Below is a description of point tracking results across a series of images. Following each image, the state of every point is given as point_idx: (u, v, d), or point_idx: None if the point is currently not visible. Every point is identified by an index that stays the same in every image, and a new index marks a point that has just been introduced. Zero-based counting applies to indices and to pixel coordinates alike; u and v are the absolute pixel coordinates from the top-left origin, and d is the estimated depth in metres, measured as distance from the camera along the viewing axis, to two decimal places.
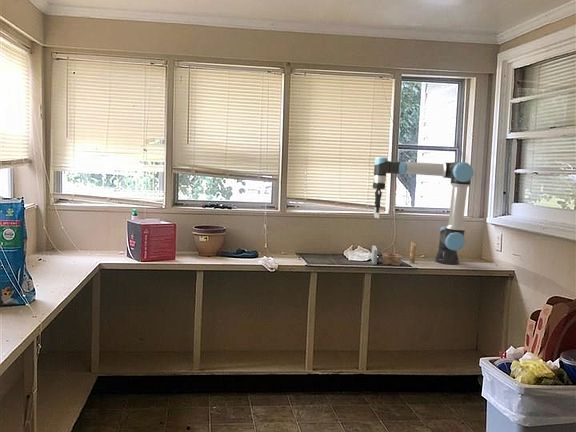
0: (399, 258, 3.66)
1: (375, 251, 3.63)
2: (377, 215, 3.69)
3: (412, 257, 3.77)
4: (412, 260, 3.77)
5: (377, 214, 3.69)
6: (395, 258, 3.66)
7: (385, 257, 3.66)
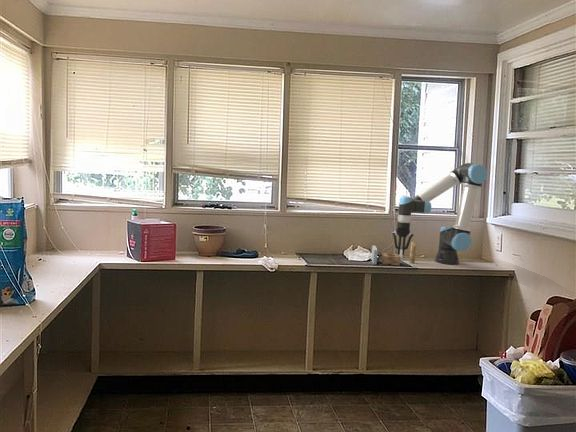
0: (399, 258, 3.66)
1: (375, 251, 3.63)
2: None
3: (412, 257, 3.77)
4: (412, 260, 3.77)
5: None
6: (395, 258, 3.66)
7: (385, 257, 3.66)
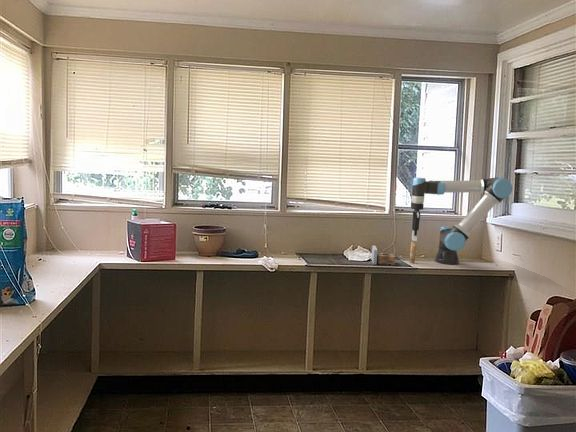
0: (394, 258, 3.66)
1: (375, 251, 3.63)
2: (415, 238, 3.75)
3: (412, 257, 3.77)
4: (412, 260, 3.77)
5: (415, 237, 3.75)
6: (390, 258, 3.66)
7: (380, 257, 3.66)
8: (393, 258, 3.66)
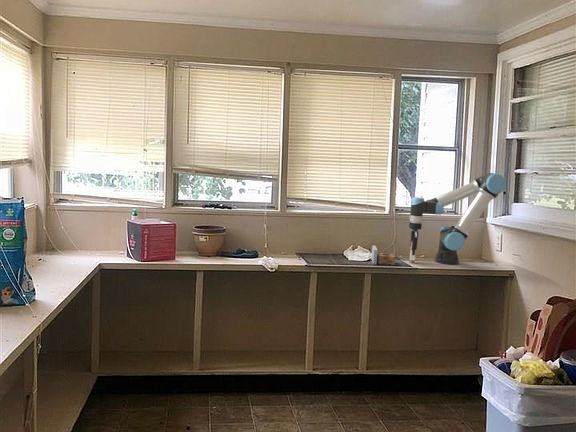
0: (394, 258, 3.66)
1: (375, 251, 3.63)
2: (413, 257, 3.76)
3: None
4: (412, 260, 3.77)
5: (413, 256, 3.76)
6: (390, 258, 3.66)
7: (380, 257, 3.66)
8: (393, 258, 3.66)
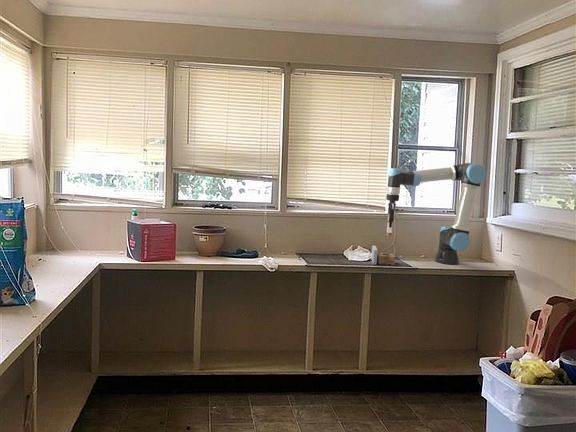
0: (394, 258, 3.66)
1: (375, 251, 3.63)
2: (390, 230, 3.67)
3: None
4: None
5: (390, 229, 3.67)
6: (390, 258, 3.66)
7: (380, 257, 3.66)
8: (393, 258, 3.66)
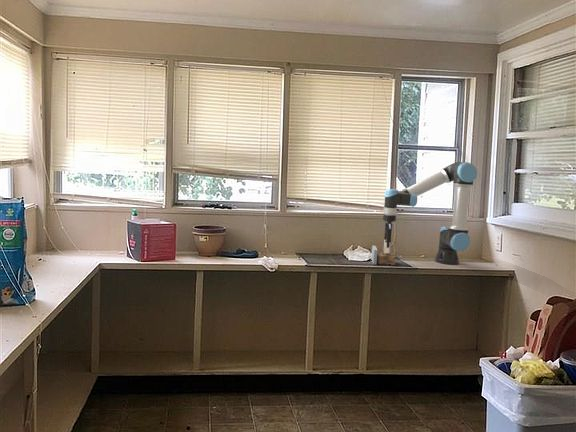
0: (394, 258, 3.66)
1: (375, 251, 3.63)
2: (387, 250, 3.66)
3: None
4: None
5: (387, 249, 3.66)
6: (390, 258, 3.66)
7: (380, 257, 3.66)
8: (393, 258, 3.66)
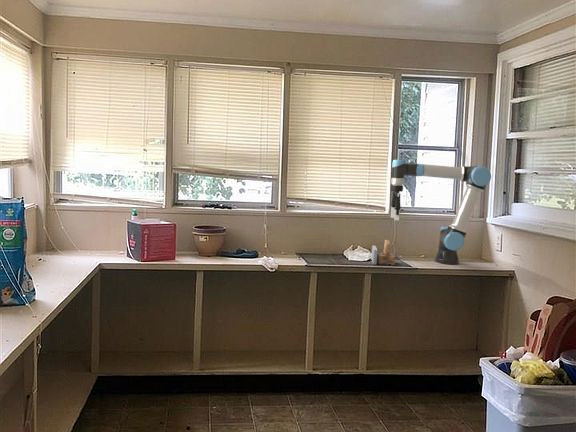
0: (394, 258, 3.66)
1: (375, 251, 3.63)
2: (397, 217, 3.70)
3: None
4: None
5: (397, 216, 3.69)
6: (390, 258, 3.66)
7: (380, 257, 3.66)
8: (393, 258, 3.66)
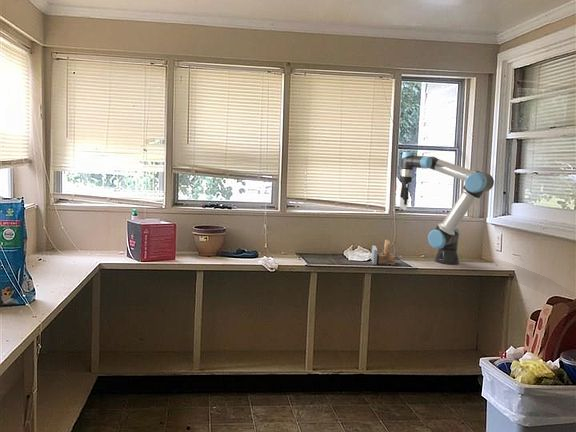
0: (394, 258, 3.66)
1: (375, 251, 3.63)
2: (405, 207, 3.86)
3: None
4: None
5: (405, 206, 3.86)
6: (390, 258, 3.66)
7: (380, 257, 3.66)
8: (393, 258, 3.66)
